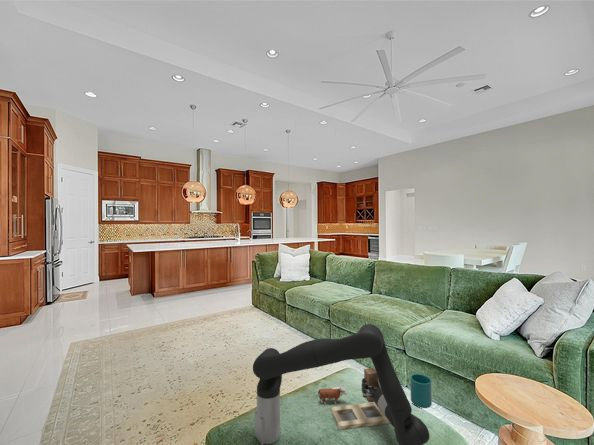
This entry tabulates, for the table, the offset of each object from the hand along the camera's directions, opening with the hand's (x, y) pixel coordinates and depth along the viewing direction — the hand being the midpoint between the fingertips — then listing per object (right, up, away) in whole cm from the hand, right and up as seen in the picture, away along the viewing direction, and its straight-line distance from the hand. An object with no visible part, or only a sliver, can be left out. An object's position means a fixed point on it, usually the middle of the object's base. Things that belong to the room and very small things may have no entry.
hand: (368, 379), depth 124 cm
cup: (+27, -15, +9) cm, 32 cm away
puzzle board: (-5, -15, -4) cm, 16 cm away
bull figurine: (-15, -15, +6) cm, 22 cm away
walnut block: (+1, -7, -3) cm, 7 cm away
